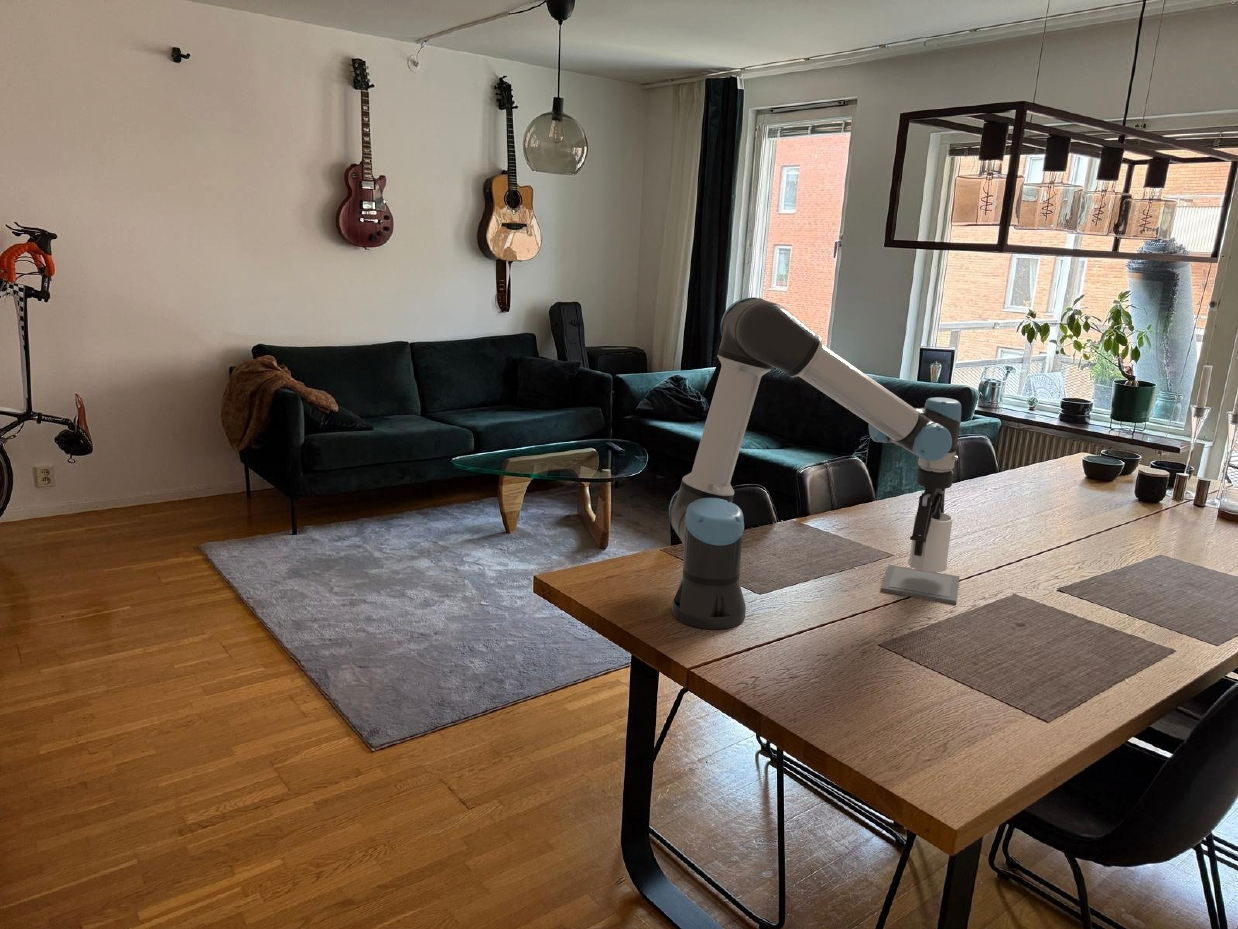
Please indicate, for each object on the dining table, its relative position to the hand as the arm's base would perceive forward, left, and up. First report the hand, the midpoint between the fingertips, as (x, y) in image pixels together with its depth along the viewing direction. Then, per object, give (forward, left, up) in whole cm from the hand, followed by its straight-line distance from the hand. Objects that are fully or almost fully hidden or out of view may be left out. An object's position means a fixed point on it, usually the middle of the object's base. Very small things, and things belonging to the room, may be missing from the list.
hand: (924, 560), depth 201 cm
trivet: (0, 0, -6) cm, 6 cm away
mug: (0, 0, -2) cm, 2 cm away
